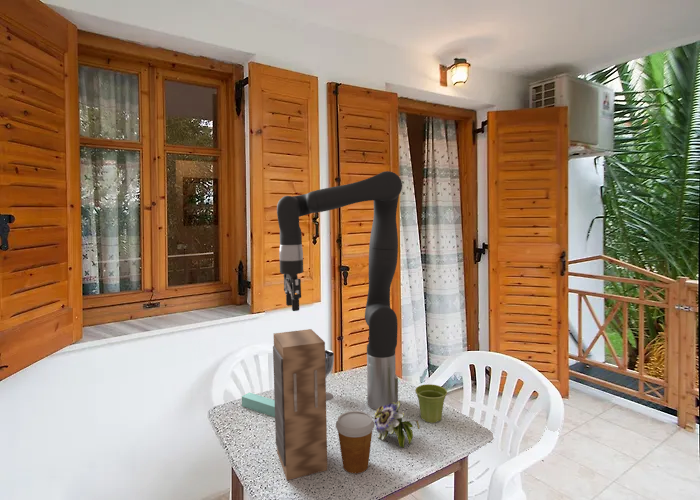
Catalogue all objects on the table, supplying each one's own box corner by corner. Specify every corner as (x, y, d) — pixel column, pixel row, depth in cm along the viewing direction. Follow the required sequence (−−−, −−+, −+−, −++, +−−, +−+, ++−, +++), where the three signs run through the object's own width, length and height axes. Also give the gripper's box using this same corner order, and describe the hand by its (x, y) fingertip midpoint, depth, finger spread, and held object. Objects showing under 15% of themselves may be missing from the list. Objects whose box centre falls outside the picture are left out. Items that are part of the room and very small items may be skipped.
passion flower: (381, 456, 112) (363, 414, 117) (413, 440, 117) (395, 400, 121) (394, 453, 103) (375, 407, 108) (429, 436, 107) (409, 392, 112)
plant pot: (447, 427, 117) (447, 398, 116) (414, 424, 119) (414, 396, 118) (446, 412, 126) (446, 385, 125) (416, 409, 128) (416, 383, 127)
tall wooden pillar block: (313, 444, 109) (311, 329, 107) (327, 471, 98) (325, 342, 95) (275, 452, 106) (271, 333, 103) (285, 481, 94) (281, 348, 91)
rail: (250, 402, 135) (249, 392, 135) (306, 421, 123) (306, 409, 122) (241, 407, 132) (241, 396, 132) (299, 426, 120) (298, 414, 119)
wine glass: (339, 394, 140) (338, 352, 138) (325, 403, 133) (324, 359, 132) (320, 389, 144) (319, 348, 143) (306, 398, 137) (305, 355, 136)
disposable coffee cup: (335, 455, 104) (334, 411, 103) (371, 453, 105) (371, 409, 104) (337, 479, 95) (336, 430, 94) (377, 476, 95) (377, 428, 94)
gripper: (308, 260, 125) (309, 311, 126) (297, 256, 138) (298, 302, 139) (284, 261, 122) (285, 314, 123) (275, 257, 135) (277, 304, 136)
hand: (292, 307), depth 131 cm, fingers open, 8 cm apart
